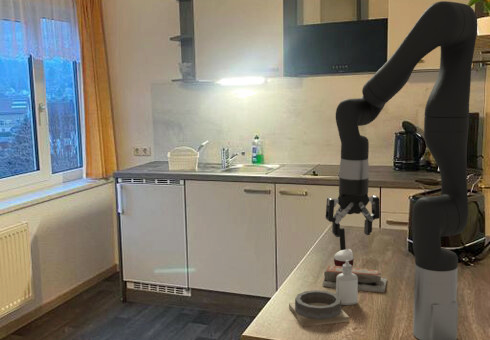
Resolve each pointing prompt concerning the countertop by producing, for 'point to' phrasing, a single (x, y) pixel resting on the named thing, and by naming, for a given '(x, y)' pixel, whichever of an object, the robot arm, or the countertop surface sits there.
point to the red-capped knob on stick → (343, 252)
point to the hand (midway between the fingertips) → (352, 235)
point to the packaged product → (366, 278)
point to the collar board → (318, 308)
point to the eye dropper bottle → (347, 285)
